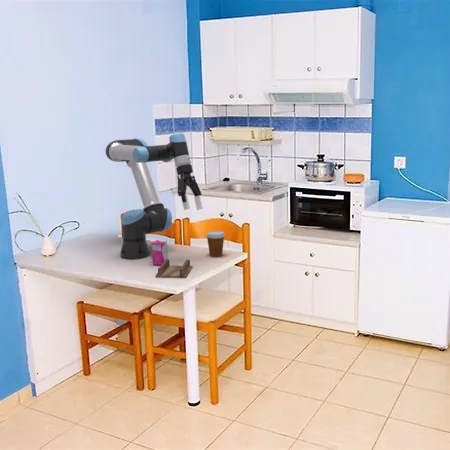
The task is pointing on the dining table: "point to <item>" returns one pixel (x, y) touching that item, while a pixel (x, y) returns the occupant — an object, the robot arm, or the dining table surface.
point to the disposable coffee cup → (215, 243)
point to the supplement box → (159, 252)
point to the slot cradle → (174, 270)
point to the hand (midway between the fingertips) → (193, 209)
